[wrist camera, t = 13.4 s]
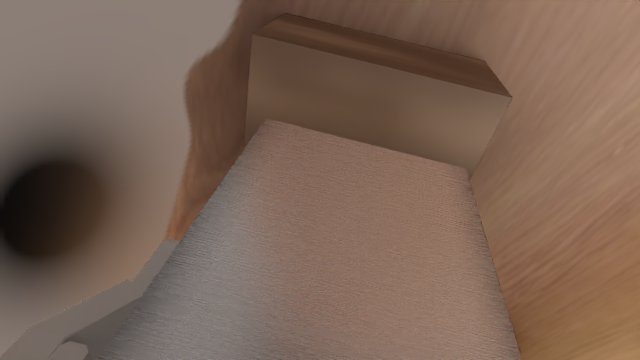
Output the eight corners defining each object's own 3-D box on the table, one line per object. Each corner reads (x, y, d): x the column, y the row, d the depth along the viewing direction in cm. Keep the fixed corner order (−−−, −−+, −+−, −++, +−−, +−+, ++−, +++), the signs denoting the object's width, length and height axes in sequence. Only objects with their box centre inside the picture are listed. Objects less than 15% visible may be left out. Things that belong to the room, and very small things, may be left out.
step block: (415, 215, 28) (419, 274, 23) (265, 176, 28) (237, 226, 23) (484, 61, 21) (512, 97, 16) (285, 13, 21) (252, 34, 16)
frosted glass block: (405, 285, 15) (413, 623, 8) (252, 244, 15) (119, 535, 8) (466, 168, 11) (588, 591, 4) (265, 118, 12) (45, 433, 4)
